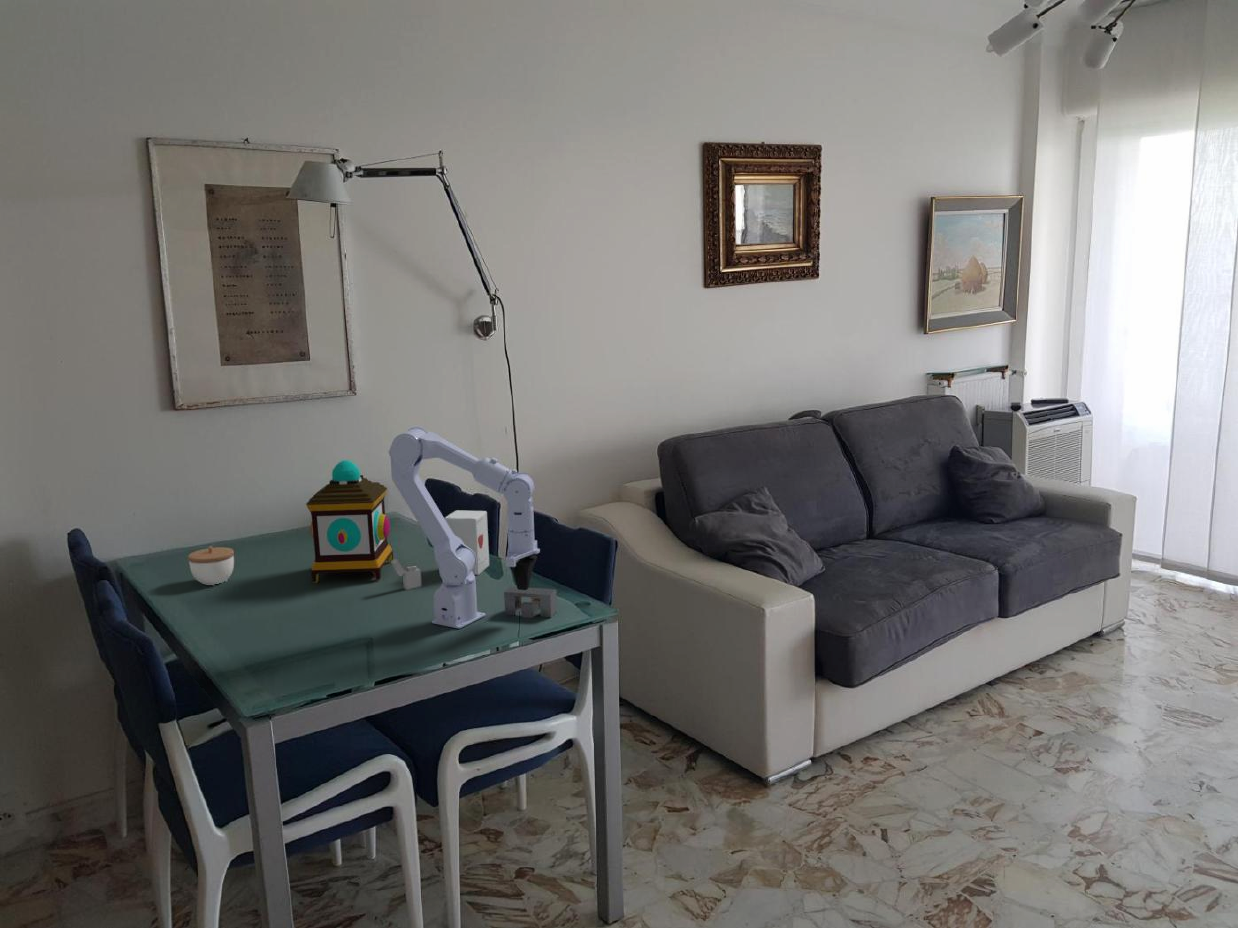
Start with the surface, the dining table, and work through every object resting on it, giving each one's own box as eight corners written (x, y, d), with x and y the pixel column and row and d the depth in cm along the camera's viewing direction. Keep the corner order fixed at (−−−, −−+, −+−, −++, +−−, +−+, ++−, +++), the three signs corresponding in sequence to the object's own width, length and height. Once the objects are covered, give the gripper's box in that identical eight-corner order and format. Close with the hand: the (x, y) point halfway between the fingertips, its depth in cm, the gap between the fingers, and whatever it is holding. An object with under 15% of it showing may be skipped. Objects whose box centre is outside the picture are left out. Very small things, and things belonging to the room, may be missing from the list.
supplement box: (478, 575, 244) (475, 518, 241) (445, 574, 246) (442, 517, 243) (490, 565, 253) (487, 510, 250) (458, 563, 254) (455, 509, 252)
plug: (534, 618, 212) (533, 605, 212) (519, 617, 213) (518, 604, 213) (549, 602, 222) (549, 590, 222) (535, 601, 223) (534, 589, 223)
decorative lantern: (304, 585, 239) (293, 468, 234) (325, 562, 259) (316, 454, 253) (384, 582, 240) (376, 466, 234) (399, 560, 259) (392, 451, 254)
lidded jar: (198, 591, 237) (194, 555, 235) (186, 581, 245) (181, 546, 243) (242, 582, 243) (238, 546, 241) (228, 573, 251) (225, 538, 250)
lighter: (418, 584, 238) (416, 553, 236) (421, 586, 237) (419, 555, 235) (392, 590, 234) (390, 559, 232) (395, 592, 232) (393, 560, 231)
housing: (551, 617, 212) (550, 595, 211) (505, 614, 215) (504, 591, 214) (557, 611, 216) (556, 589, 215) (511, 608, 219) (510, 586, 218)
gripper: (526, 539, 200) (528, 600, 202) (549, 522, 214) (550, 580, 216) (495, 537, 202) (497, 598, 204) (519, 520, 215) (521, 578, 218)
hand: (523, 588), depth 210 cm, fingers closed
